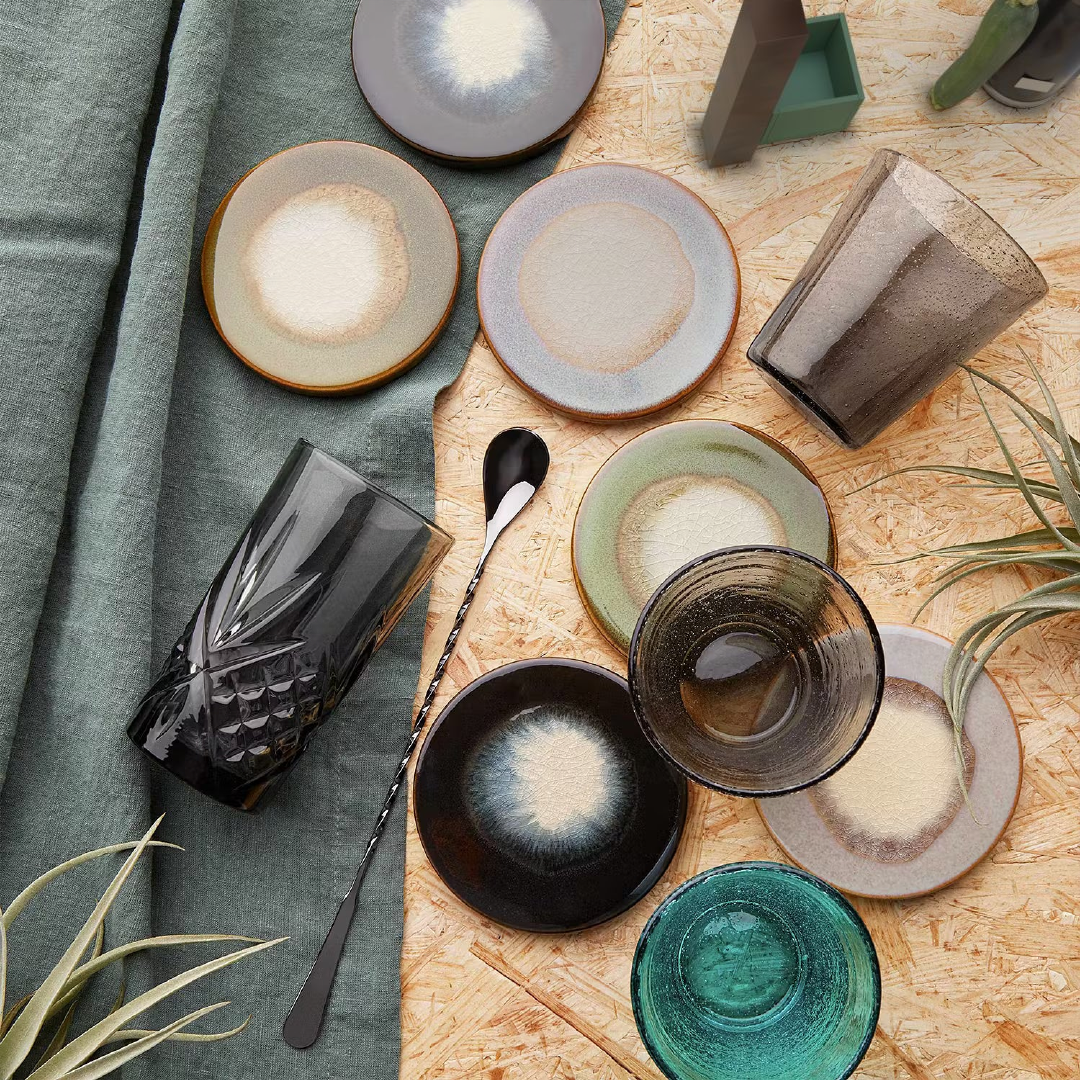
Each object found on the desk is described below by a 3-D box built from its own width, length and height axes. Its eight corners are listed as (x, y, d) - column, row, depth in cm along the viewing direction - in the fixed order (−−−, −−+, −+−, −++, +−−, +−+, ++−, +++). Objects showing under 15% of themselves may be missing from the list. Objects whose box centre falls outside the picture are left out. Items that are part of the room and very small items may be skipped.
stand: (741, 121, 96) (798, -16, 76) (750, 161, 95) (809, 34, 75) (699, 128, 96) (745, -7, 76) (708, 168, 95) (756, 43, 75)
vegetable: (964, 90, 96) (1078, -53, 77) (962, 129, 96) (1076, -5, 76) (922, 86, 96) (1024, -59, 76) (919, 125, 96) (1022, -10, 76)
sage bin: (826, 47, 97) (844, 11, 91) (845, 130, 96) (865, 98, 90) (740, 62, 96) (753, 27, 91) (758, 145, 95) (773, 114, 90)
